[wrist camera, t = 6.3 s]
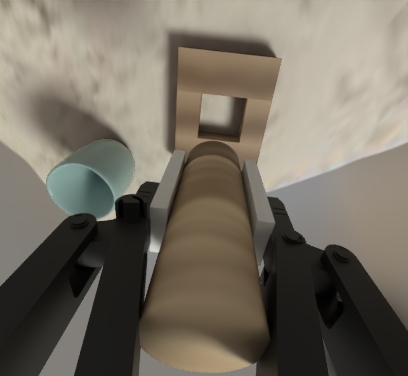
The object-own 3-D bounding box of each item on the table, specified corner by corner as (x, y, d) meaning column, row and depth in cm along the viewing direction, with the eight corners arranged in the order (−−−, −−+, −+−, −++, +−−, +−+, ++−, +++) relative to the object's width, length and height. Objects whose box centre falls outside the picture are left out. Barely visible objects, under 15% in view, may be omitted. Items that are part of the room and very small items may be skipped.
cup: (117, 121, 32) (79, 149, 23) (151, 166, 35) (129, 205, 27) (77, 148, 34) (30, 182, 26) (113, 188, 38) (82, 230, 29)
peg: (187, 137, 16) (133, 293, 6) (245, 144, 16) (288, 312, 6) (183, 186, 18) (137, 364, 8) (234, 192, 18) (252, 378, 8)
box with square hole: (181, 46, 27) (178, 46, 25) (276, 57, 27) (281, 58, 25) (177, 158, 34) (174, 165, 32) (252, 166, 34) (254, 174, 32)
